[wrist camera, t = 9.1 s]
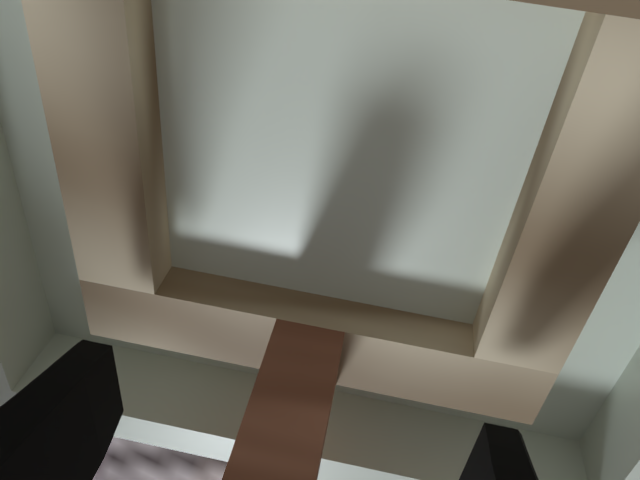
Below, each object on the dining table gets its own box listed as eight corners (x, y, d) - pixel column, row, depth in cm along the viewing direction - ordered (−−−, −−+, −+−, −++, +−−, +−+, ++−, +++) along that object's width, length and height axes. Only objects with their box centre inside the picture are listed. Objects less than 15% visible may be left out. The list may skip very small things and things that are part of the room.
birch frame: (19, -220, 8) (-368, -250, 4) (780, -126, 7) (1154, -58, 4) (109, 306, 15) (-16, 488, 11) (527, 390, 14) (558, 621, 10)
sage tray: (37, 338, 17) (-17, 407, 15) (-219, -555, 7) (-476, -699, 5) (600, 454, 15) (622, 548, 13) (1216, -448, 6) (1614, -583, 4)
